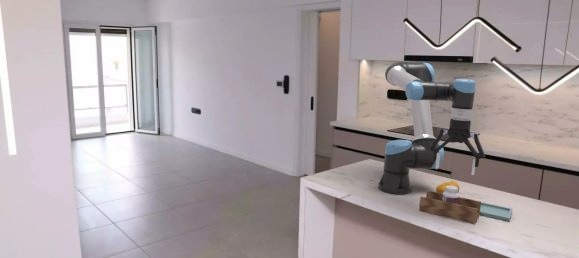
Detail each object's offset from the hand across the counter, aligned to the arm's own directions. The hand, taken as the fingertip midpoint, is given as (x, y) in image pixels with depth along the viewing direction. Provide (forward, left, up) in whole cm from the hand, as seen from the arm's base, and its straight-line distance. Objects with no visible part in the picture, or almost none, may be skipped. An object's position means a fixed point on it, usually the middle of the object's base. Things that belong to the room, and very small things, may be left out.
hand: (454, 171), depth 161 cm
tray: (+15, +12, -18) cm, 26 cm away
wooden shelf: (0, 0, -18) cm, 18 cm away
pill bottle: (0, 0, -18) cm, 18 cm away
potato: (-5, +19, -18) cm, 26 cm away
